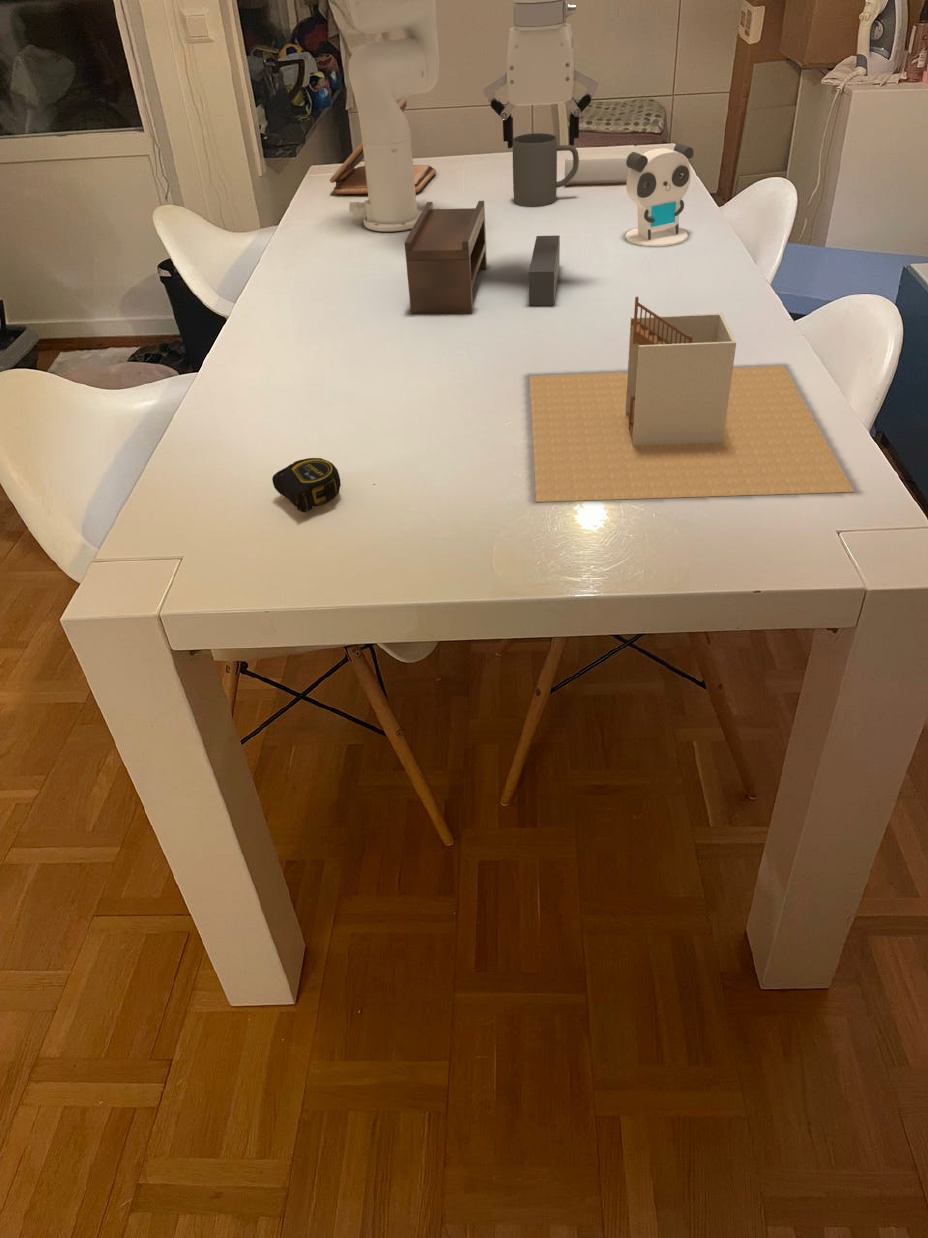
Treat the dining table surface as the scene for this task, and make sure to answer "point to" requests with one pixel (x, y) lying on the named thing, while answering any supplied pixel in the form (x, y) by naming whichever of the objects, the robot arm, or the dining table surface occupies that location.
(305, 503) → the tape measure
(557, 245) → the case
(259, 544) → the dining table surface
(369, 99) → the robot arm
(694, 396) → the staircase
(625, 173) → the tube
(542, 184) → the mug
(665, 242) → the panda standee
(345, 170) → the case
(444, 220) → the shelf
